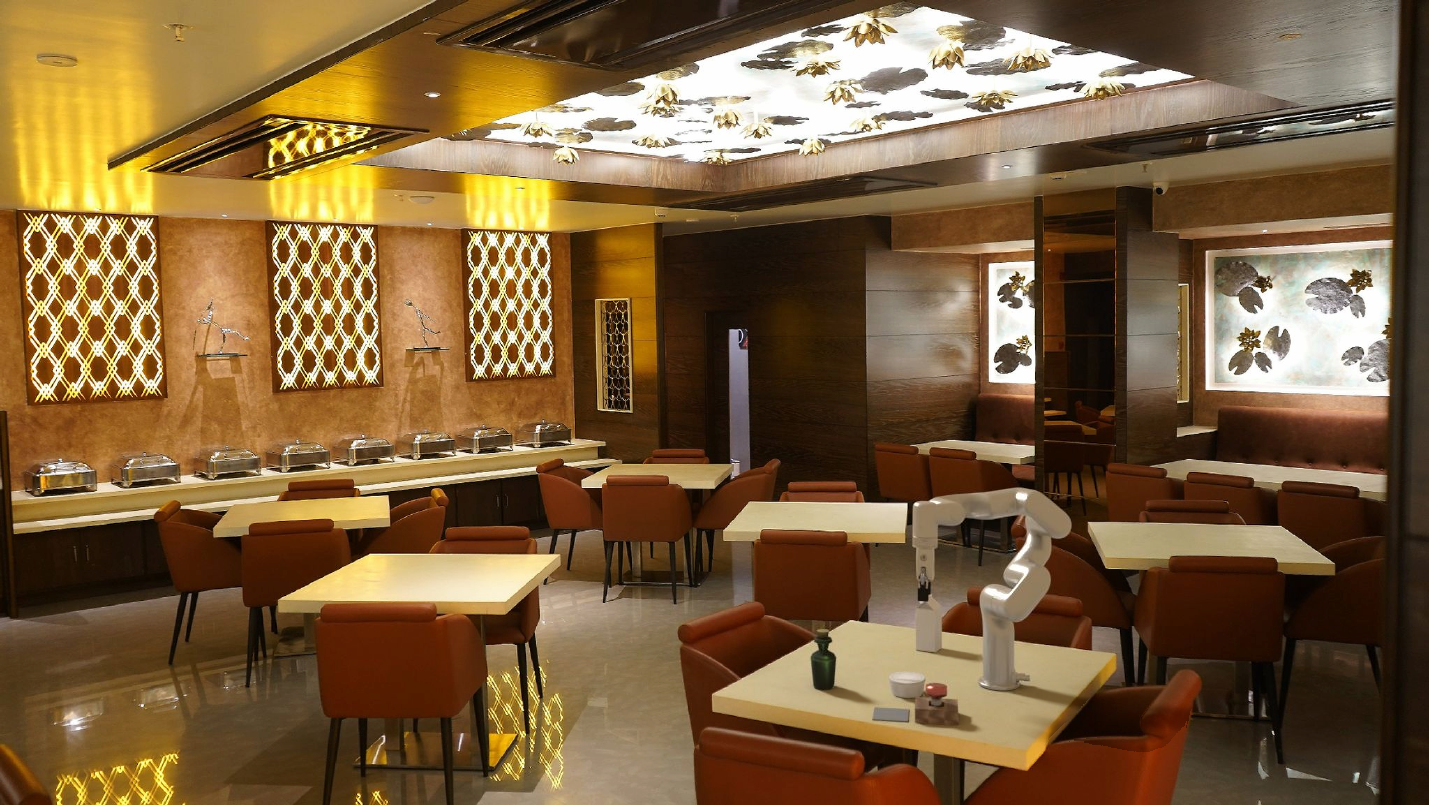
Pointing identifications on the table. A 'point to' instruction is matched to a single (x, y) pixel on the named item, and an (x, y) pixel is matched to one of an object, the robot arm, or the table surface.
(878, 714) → the slate mat
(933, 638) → the milk carton
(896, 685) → the ramekin
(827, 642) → the potion bottle
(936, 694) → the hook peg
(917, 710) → the eye block
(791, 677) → the table surface
